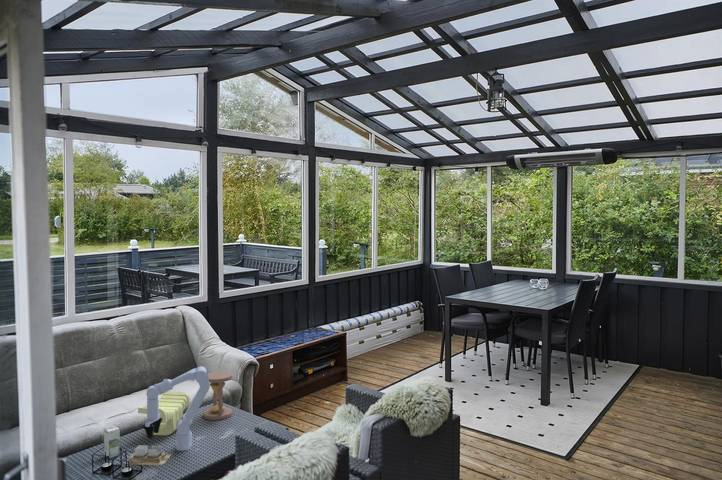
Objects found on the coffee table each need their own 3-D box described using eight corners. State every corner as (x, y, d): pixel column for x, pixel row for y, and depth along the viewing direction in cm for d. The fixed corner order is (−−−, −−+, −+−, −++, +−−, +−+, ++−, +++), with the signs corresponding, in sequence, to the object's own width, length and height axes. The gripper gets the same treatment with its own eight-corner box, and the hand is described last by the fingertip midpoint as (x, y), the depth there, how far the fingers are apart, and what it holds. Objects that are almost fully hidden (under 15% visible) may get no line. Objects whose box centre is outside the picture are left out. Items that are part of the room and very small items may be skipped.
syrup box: (114, 452, 288) (113, 425, 288) (120, 455, 284) (119, 427, 284) (103, 456, 284) (103, 428, 283) (109, 459, 280) (108, 431, 280)
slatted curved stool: (165, 441, 303) (165, 409, 302) (138, 440, 305) (138, 408, 304) (189, 421, 333) (189, 392, 332) (164, 420, 334) (164, 391, 334)
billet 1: (147, 457, 281) (147, 445, 280) (143, 461, 276) (143, 449, 276) (139, 456, 281) (138, 445, 281) (134, 460, 276) (134, 448, 276)
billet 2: (152, 457, 281) (152, 445, 280) (161, 457, 280) (160, 445, 280) (148, 460, 276) (148, 449, 276) (157, 461, 276) (157, 449, 276)
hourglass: (202, 411, 350) (202, 372, 349) (231, 409, 355) (231, 370, 354) (203, 421, 333) (203, 380, 332) (233, 418, 338) (233, 377, 337)
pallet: (134, 455, 285) (134, 449, 285) (172, 455, 285) (172, 450, 284) (122, 466, 272) (122, 460, 272) (162, 467, 272) (162, 461, 272)
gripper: (151, 404, 294) (151, 430, 294) (139, 414, 279) (139, 440, 280) (164, 404, 294) (164, 430, 294) (153, 414, 279) (153, 441, 280)
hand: (153, 435), depth 287 cm, fingers open, 7 cm apart
